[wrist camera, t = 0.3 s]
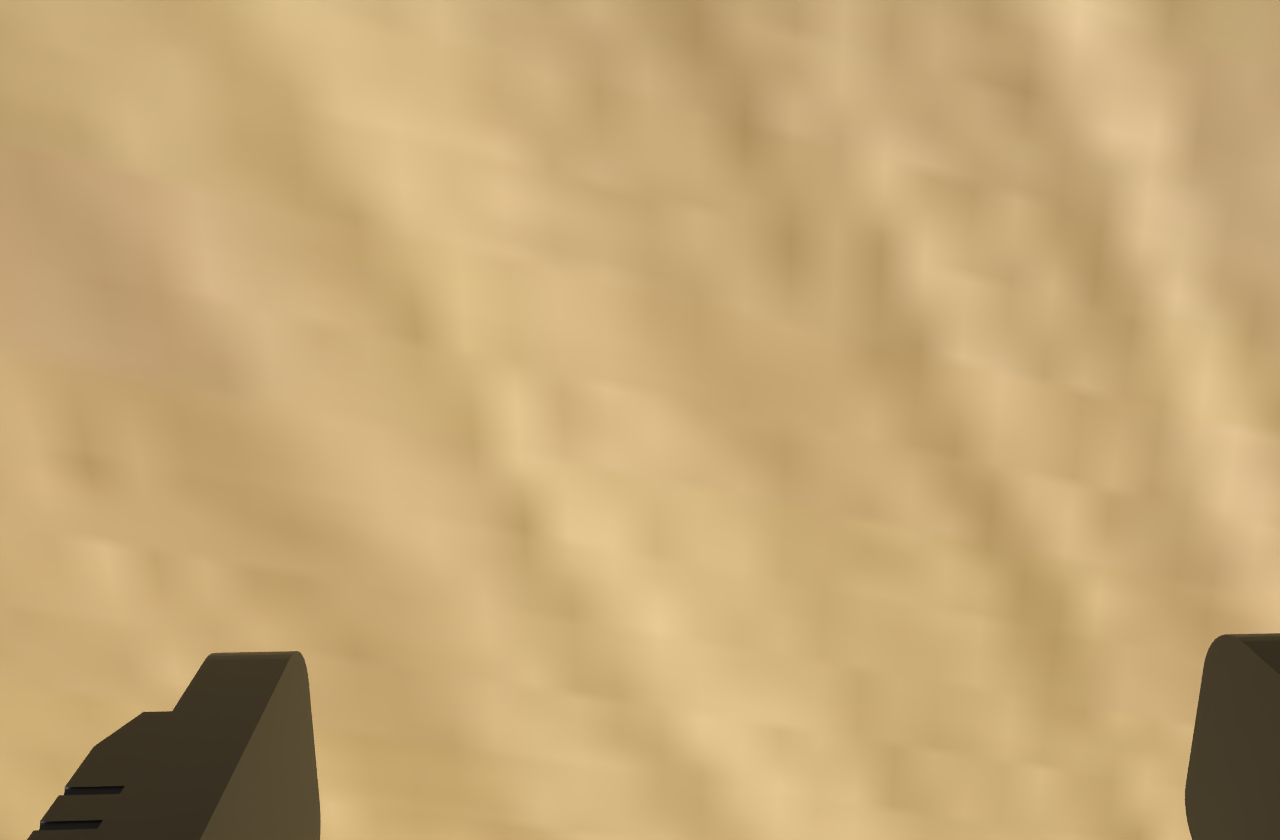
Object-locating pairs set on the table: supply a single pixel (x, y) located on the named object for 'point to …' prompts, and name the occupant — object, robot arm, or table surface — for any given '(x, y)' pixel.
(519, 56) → the table surface
